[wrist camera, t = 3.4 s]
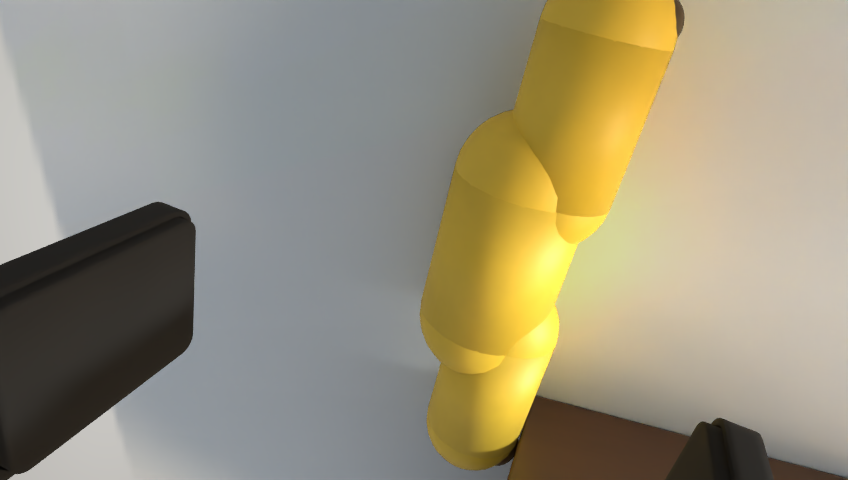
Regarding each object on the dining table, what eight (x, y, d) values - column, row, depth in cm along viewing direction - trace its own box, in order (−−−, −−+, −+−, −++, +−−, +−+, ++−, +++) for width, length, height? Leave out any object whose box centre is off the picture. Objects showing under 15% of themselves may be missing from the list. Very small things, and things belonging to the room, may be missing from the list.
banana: (530, -59, 13) (495, -77, 10) (702, -20, 12) (717, -27, 9) (412, 389, 19) (369, 457, 16) (519, 436, 18) (494, 517, 16)
